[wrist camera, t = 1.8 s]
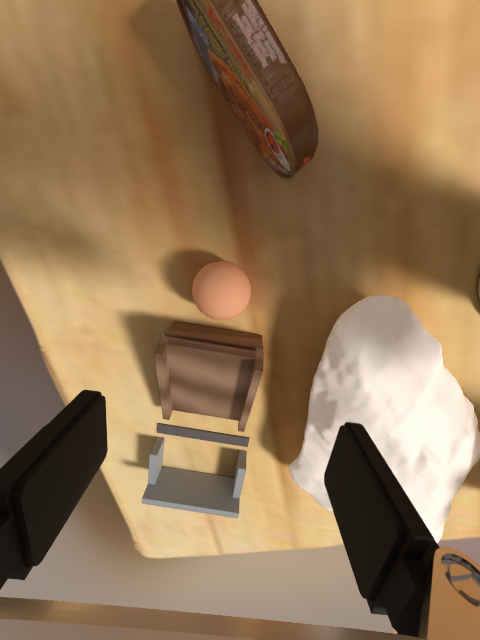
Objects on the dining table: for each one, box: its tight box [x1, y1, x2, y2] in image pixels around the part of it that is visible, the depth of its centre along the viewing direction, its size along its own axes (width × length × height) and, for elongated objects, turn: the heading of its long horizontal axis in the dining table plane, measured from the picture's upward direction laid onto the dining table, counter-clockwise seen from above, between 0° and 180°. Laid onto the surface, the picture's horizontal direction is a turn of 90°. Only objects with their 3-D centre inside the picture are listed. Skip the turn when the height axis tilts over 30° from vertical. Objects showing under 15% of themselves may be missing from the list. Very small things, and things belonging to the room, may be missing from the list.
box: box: [142, 423, 249, 518], centre depth 35 cm, size 9×13×5 cm
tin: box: [177, 0, 318, 179], centre depth 19 cm, size 15×3×8 cm, turn 37°
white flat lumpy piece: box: [289, 295, 480, 543], centre depth 30 cm, size 24×35×9 cm
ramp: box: [154, 321, 264, 432], centre depth 29 cm, size 13×11×7 cm
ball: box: [192, 261, 251, 320], centre depth 26 cm, size 6×6×6 cm
